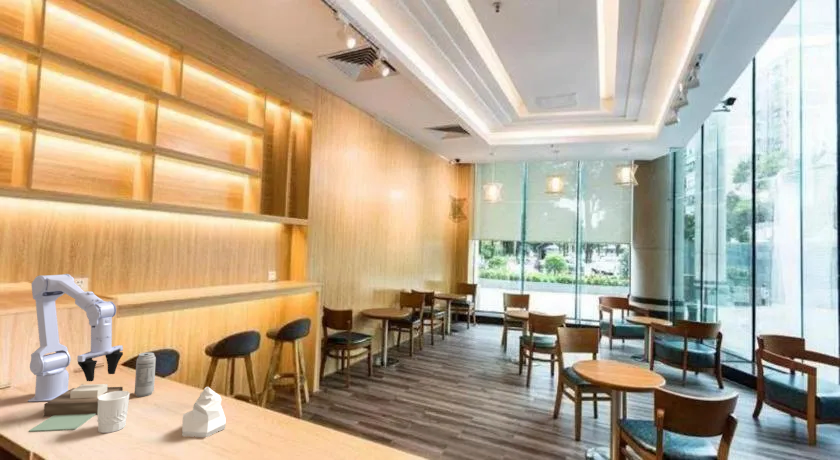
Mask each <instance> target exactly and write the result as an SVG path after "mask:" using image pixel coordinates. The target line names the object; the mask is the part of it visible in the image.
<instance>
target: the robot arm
mask: <svg viewBox="0 0 840 460" xmlns="http://www.w3.org/2000/svg"><path fill="white" fill-rule="evenodd" d="M30 285H31V292H32V299H33V300H35V301H34V302H35V309H36V311H35V312H36V318H37V328H38V340H39V347H38V348H37V349H36V350H35V351H33V352H32V353H31V354H30V363H29V370H30V372H31V373H32V374H33V375H35V392H34V396H33V397H31V398H30V399H28V400H27V402H49V401H51V400H53V399H54V398H56V397H58V396H60V395H61V394H63V393H65V392H67V391H69V390H70V389H69V379H70V378H69V377H70V373H69V371H68V370H67V369H66V368H68V367H69V366H70V363H71V361H72V358H71V354H70V353H69V349H68V347H67V346H66V345H64V344H62V343H60V335H59V326H58V325H59V324H58V317H57V306H56V301H57V300H58V298H60V297H62V296H63V295H65V294H66V295H67V296H68V297H70V298H73V300H74V303H75V305H76V306H77V307H79V309H81V310H83V311H84V312H85V313H86V317H87V319H88V325H89V326H90V351H88V352H86V353H82V354H80V355H77V365H78V366H79V367H80V368H81V370H82V372H83V374H84V377H85V380H86V382H93V381H94V379H95V369H96V365H97V363H98V360H94V359H95V358H99V357H103V356H105V358H106V364H107V374H108V375H114V374H115V373H116V370H117V367H118V364H119V362H120V360H121V358H122V356H123V355H124V352H123V351H124V350H123V349H124V347H123V346H124V345H122V344H121V345H119V344H118V345H115V346H112V345H113V343H112V342H113V341H112V340H113V338H112V337H113V332H112V331H113V317H115V316H116V313H117V307H116V304H115V303H114V302H113V301H109V300H108V301H105V300H103V299H102V298H100V297H99V296H97V295H96V294H95V293H94V292H93V291H89V290H88V291H85V290H83V289H82V288H81V287H80V286H79V285H78V284H76V282H75V278H74V277H73V276H72V275H71V274H69V273H63V274H50V275H38V276H36V277H35V278H34V279H33V280H32V282H31V284H30Z"/></svg>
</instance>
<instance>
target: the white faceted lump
mask: <svg viewBox="0 0 840 460" xmlns="http://www.w3.org/2000/svg"><path fill="white" fill-rule="evenodd" d="M222 400H223V399H222V396H221V395H220V394H218V392H216V391H214V390H213V389H211V388H210V387H209V386H206V387H205V388H203V391H202V392H200V394H199V396H198V398H197V400H196V401H195V403H193V407H192V410H190V411H187V412H184V413H183V415H182V424H181V425H182V427H181V428H182V429H181V437H187V436H190V437H189V438H191V437H193V438H204V437H207V438H208V436H209V437H210V435H211V436H213V435H214V433H215V434H217V433H219V432H221V431H223V430H225V429H226V426H227V425H226V424H227V423H226V422H227V421H226V420H227V419H226V415H225V412H224V409H223V407H222ZM218 431H219V432H218ZM216 432H217V433H216ZM212 434H213V435H212ZM194 436H195V437H194Z"/></svg>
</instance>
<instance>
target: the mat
mask: <svg viewBox="0 0 840 460" xmlns="http://www.w3.org/2000/svg"><path fill="white" fill-rule="evenodd" d="M96 415H97V414H96V413H93V414H69V415H53V416H49V418H46V419H45V420H44V421H42V422H40V423H39V424H37V425H35V426H34V427H32V428H31V429H29V430H28V433H35V432H37V433H38V432H40V433H41V432H55V431H56V432H59V431H75V430H77V429H78V428H80V427H81V426H82V425H84V424H85V423H86V422H87V421H89V420H91V419H92V418H94V417H95V416H96Z"/></svg>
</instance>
